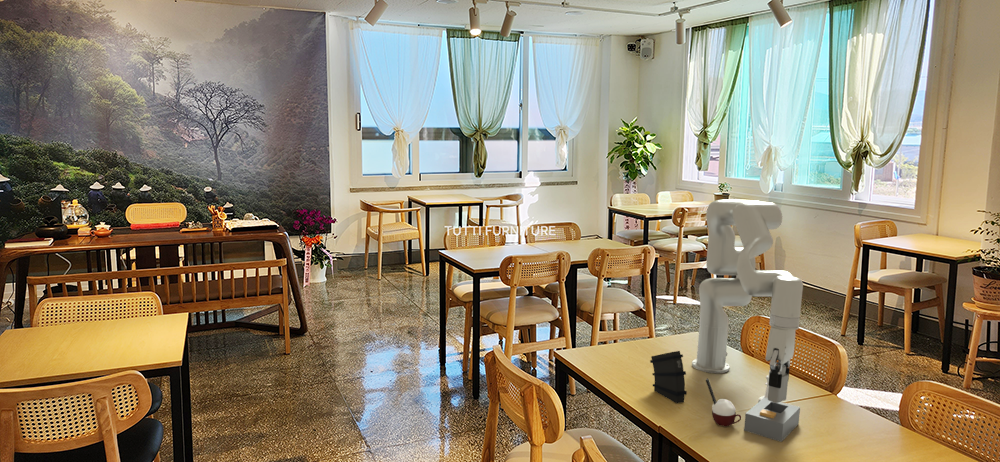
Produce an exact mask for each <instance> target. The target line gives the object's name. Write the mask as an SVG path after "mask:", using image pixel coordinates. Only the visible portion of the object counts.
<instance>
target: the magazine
mask: <svg viewBox="0 0 1000 462" xmlns="http://www.w3.org/2000/svg"><path fill="white" fill-rule="evenodd" d="M683 357H684V355H683V354H681V352H680V350H676V351H670V352H665V353H661V354H656V355H652V356H650V358H651V360H649V363H650V364H652V366H653V372H652V376H654V383H653V384H652V387H654V388H653V389H654V391H653V392H655V393H657V394H658V395H661V396H662V397H664V398H666V399H667V400H670V401H672V402H673V403H674V404H682V403H685V395H687V390H685V389H686V387H685V385H686V382H685V380H686V379H685V375H687V372H686V370H685V371H684V364H683V363H684V362H683V359H682V358H683Z"/></svg>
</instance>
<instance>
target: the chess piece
mask: <svg viewBox="0 0 1000 462" xmlns="http://www.w3.org/2000/svg"><path fill="white" fill-rule="evenodd" d="M769 374H770V369H769V371H768V374H767V375H765V378H766V382H765V383H764V385H765V386H766V389H765V393H764V395H762V396H760V397H758V402H759V401H761V400H762V399H763V398H768V391H769Z"/></svg>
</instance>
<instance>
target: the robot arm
mask: <svg viewBox="0 0 1000 462" xmlns="http://www.w3.org/2000/svg"><path fill="white" fill-rule="evenodd" d="M705 215H706V217H705V218H706V224H707V230H708V241H707V251H706V263H705V264H706V270H707V272H708V273H709V274H712V275H716V276H736V277H735V278H734V277H729V278H728V277H710V278H706V279H703V280H702V281H701V283H700V284H699V288H698V295H699V304H700V305H699V307H700V308H699V309H700V311H699V324H698V325H699V326H698V338H697V339H698V340H697V352H696V353H697V354H696V358H695V359H693V360H692V361H691V366H692V367H693V368H694V369H696V370H698V371H699V372H700V371H701V372H704V373H710V374H725V373H727V372H729V371H730V369H731V366H730V364H729V363H727V362H726V359H727V356H728V352H727V347H728V346H727V345H728V336H729V333H728V332H729V316H728V314H727V313H726V311H725V310H724V308H723V307H744V306H747V305H749V304H750V302H752V299H753V297H771V302H770V314H769V322H768V324H769V326H770V330H769V334H768V339H767V347H766V354H765V360H766V362H769V370H770V374H769V373H768V375H769V386H772V387H775V388H781V382H782V374H781V371H782V366H783V365H785V366H786V371H785V373H786V374H789V376H788V381H789V377H790V366H791V359H792V358H793V357H794V353H795V348H796V347H795V344H796V331H797V330H799V328H800V319H801V318H800V317H801V310H802V309H801V308H802V298H803V291H804V282H803V281H802V280H803V279H801V278H799V277H796V276H794V275H793V274H792V273H791V272H789V271H787V270H781V269H780V270H779V269H778V270H773V269H772V270H771V269H756V257H757V256H760V255H762V254H765V253H766V252H768V251H769V250H770V249H771V248H772V246H773V244H774V239H773V237H772V234H771V230H776V229H778V228H779V227H781V226H782V222H783V213H782V210H781V208H780V206H779V205H778V204H776V203H775V202H770V201H765V200H756V199H727V198H726V199H717V200H713V201H711V202H710V203H709V204H708V206H707V209H706V214H705ZM732 226H734V227H735V228H736V230H737V233H738V236H739V239H740V241H741V243H742V246H743V247H742V246H741V247H740V246H739V247H735V243H736V233H735V231H734V229H733V227H732ZM778 360H779V362H778ZM776 365H779V369H778V366H776Z"/></svg>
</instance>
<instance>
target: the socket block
mask: <svg viewBox="0 0 1000 462" xmlns="http://www.w3.org/2000/svg"><path fill="white" fill-rule="evenodd" d="M800 412H801V407H800V406H799V405H797V406H796V405H794V404H789V403H786V402H783V401H781V402H779V403H775V402H772V401H769V400H768V398H763V399H762V400H761V401H759V400H758V402H757V403H756V404H755V405H754V406H752V407H751V408H750V409H749V410H748V411H746V412H745V413H744V414H745V416H744V427H743V431H744V432H748V433H751V434H754V435H757V436H761V437H764V438H767V439H771V440H774V441H777V442H780V443H782V442H783V441H784V440H786V438H787V437H788V436H789V435H790V434H791V432H793V431H794V429H795V428H796V427H798V425H799V423H800Z"/></svg>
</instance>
